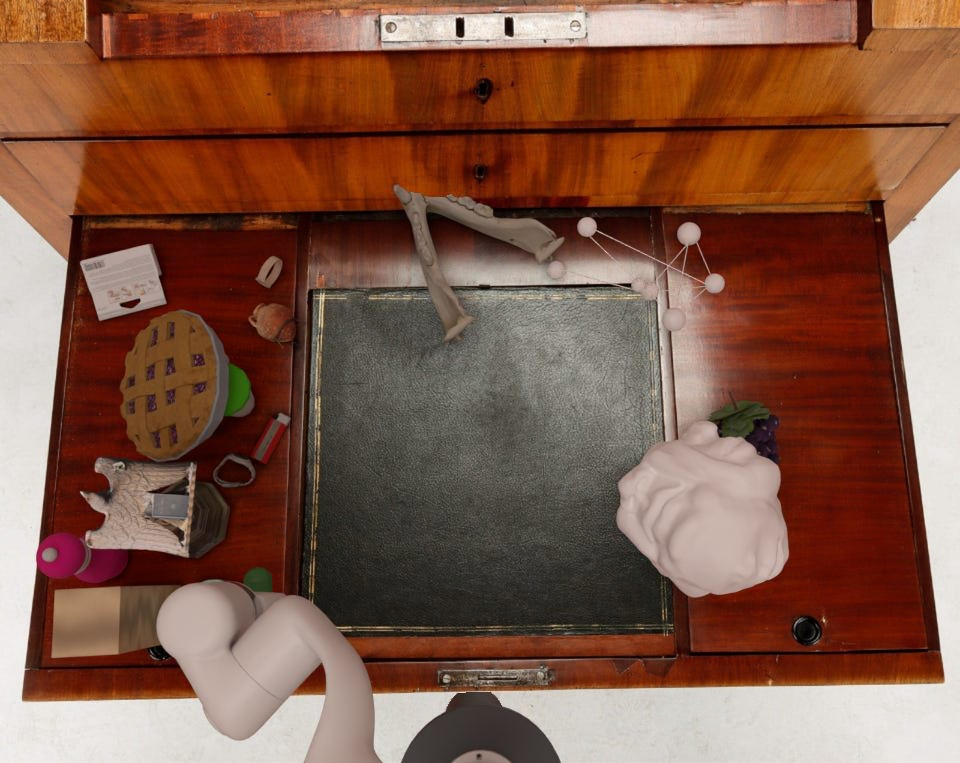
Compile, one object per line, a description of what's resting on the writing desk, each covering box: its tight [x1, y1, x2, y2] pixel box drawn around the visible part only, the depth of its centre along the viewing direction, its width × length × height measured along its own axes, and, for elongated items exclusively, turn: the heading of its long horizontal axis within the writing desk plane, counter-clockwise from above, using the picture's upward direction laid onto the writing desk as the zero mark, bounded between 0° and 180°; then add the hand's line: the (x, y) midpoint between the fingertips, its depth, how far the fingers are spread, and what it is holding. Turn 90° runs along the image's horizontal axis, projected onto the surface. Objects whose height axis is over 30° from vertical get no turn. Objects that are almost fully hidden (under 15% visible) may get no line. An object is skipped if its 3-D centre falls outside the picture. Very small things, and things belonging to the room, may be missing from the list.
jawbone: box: [393, 184, 565, 343], centre depth 137 cm, size 25×25×15 cm
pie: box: [119, 309, 229, 463], centre depth 128 cm, size 22×22×5 cm
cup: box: [223, 363, 256, 418], centre depth 131 cm, size 8×8×15 cm
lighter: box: [249, 412, 292, 465], centre depth 137 cm, size 3×1×8 cm
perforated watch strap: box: [255, 255, 283, 289], centre depth 140 cm, size 3×5×5 cm, turn 150°
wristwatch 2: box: [213, 453, 256, 489], centre depth 135 cm, size 4×6×5 cm
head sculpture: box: [615, 420, 790, 598], centre depth 124 cm, size 23×23×25 cm
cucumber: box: [242, 566, 273, 592], centre depth 112 cm, size 11×4×4 cm, turn 3°
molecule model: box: [546, 216, 726, 332], centre depth 139 cm, size 14×25×18 cm
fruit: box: [706, 391, 781, 466], centre depth 134 cm, size 10×11×15 cm
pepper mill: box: [35, 532, 129, 584], centre depth 123 cm, size 7×7×20 cm
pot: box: [248, 302, 307, 349], centre depth 138 cm, size 6×8×6 cm
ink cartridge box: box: [79, 243, 167, 322], centre depth 141 cm, size 2×11×10 cm
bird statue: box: [79, 441, 231, 559], centre depth 117 cm, size 17×13×35 cm
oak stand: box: [51, 584, 182, 659], centre depth 120 cm, size 8×8×24 cm
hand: (260, 609), depth 114 cm, fingers closed on cucumber, 3 cm apart
